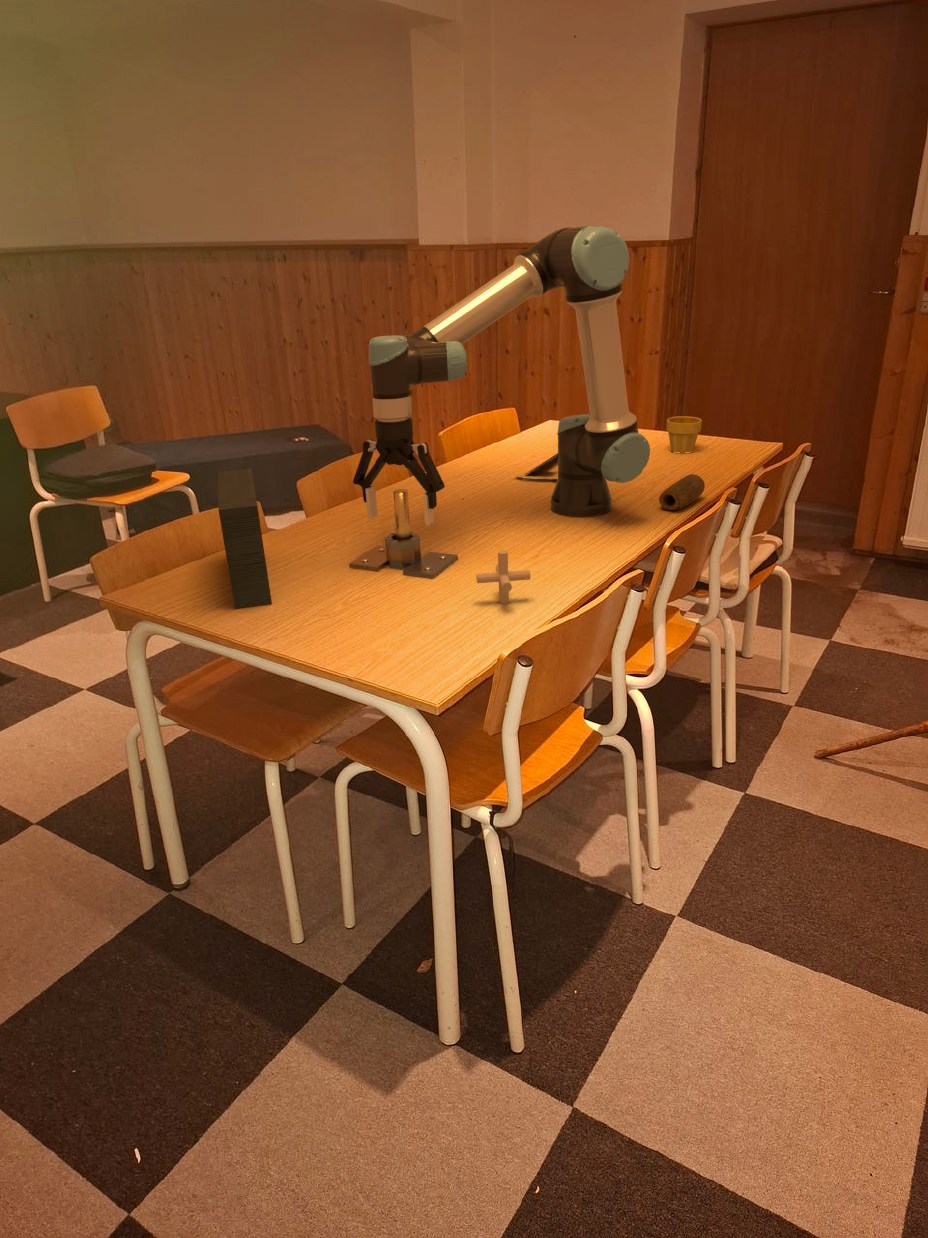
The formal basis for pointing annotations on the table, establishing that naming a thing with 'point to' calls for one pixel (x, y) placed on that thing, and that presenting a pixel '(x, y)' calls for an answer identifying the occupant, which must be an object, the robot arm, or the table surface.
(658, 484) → the table surface
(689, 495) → the stone weight
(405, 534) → the hinge pin
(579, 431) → the robot arm
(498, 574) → the pipe connector
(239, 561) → the dark layered block
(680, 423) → the plant pot
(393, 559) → the hinge
